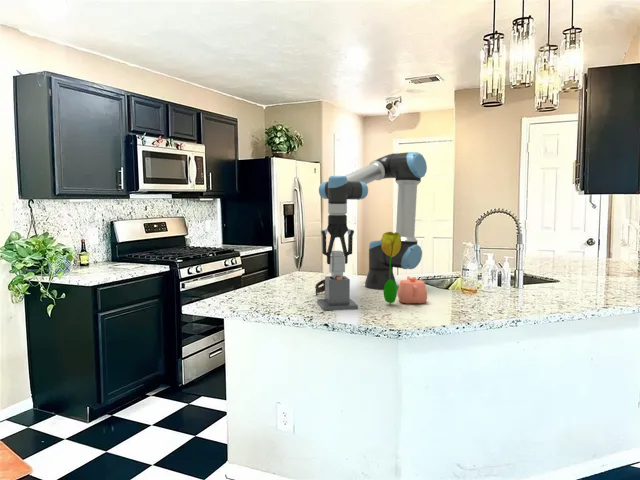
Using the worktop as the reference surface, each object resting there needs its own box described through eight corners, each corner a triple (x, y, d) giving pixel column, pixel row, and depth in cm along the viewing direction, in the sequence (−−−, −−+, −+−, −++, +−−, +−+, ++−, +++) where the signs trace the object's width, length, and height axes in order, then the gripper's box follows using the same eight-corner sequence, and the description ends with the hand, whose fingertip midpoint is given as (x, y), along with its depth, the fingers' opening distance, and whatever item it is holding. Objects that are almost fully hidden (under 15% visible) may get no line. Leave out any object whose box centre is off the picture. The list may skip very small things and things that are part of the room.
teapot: (401, 306, 195) (402, 281, 194) (394, 297, 213) (395, 273, 212) (429, 306, 195) (430, 281, 194) (420, 297, 213) (421, 274, 212)
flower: (379, 302, 202) (380, 231, 200) (398, 302, 202) (399, 231, 199) (381, 307, 194) (382, 233, 191) (401, 307, 194) (402, 233, 191)
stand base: (349, 301, 204) (349, 272, 203) (358, 309, 190) (358, 277, 189) (317, 302, 202) (317, 273, 200) (323, 310, 188) (323, 279, 187)
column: (340, 299, 199) (340, 250, 197) (343, 303, 193) (344, 252, 191) (330, 300, 198) (330, 250, 196) (333, 303, 193) (333, 252, 191)
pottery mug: (339, 298, 212) (330, 283, 210) (320, 306, 214) (311, 291, 212) (339, 286, 224) (331, 272, 221) (321, 294, 226) (313, 280, 223)
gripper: (356, 213, 198) (355, 269, 200) (314, 214, 195) (314, 271, 197) (361, 214, 190) (360, 272, 193) (317, 215, 187) (317, 274, 189)
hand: (337, 271), depth 195 cm, fingers open, 5 cm apart
